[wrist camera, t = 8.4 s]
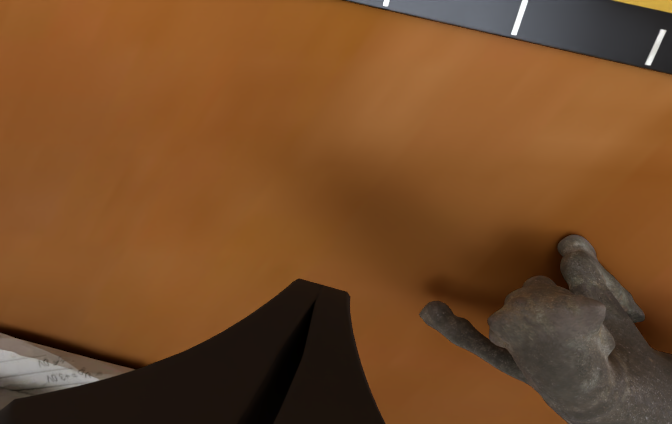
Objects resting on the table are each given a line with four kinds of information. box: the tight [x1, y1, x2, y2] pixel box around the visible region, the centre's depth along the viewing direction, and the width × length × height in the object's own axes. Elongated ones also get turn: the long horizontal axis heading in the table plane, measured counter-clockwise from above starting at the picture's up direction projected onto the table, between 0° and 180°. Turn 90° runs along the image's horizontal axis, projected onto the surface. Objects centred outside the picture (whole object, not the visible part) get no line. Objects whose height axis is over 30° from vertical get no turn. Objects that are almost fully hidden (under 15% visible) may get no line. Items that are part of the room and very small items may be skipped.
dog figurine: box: [419, 235, 672, 424], centre depth 13 cm, size 12×6×7 cm, turn 69°
